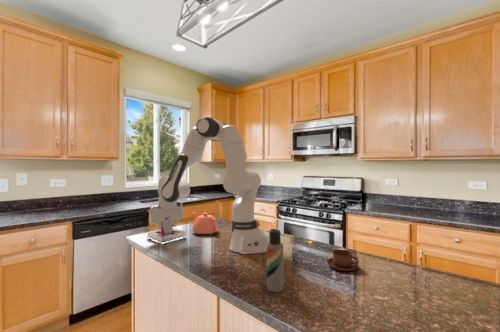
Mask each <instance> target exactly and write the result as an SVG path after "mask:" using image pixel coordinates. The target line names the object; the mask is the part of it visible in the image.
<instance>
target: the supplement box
mask: <svg viewBox="0 0 500 332" xmlns="http://www.w3.org/2000/svg"><path fill="white" fill-rule="evenodd" d="M160 224H161V225H160V227H162V228H161V229H162V230H161V235H167V234H171V232H172V228H173V227H172V224H173V220H172V217H166V218H165V221H164V222H160Z"/></svg>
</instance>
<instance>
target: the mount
mask: <svg viewBox="0 0 500 332" xmlns="http://www.w3.org/2000/svg"><path fill="white" fill-rule="evenodd" d="M186 235H187V232H186V231H185V230H181V229H178V228H176V227H172V232H171V234H167V235H161V230H158V229H157V230H152V231H148V232H147V238H148V237H149V238H152V239H154V240H157V241H159V242H161V243H162V242H166V241H170V240H173V239H176V238H180V237H184V236H186ZM186 237H187V236H186Z"/></svg>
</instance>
